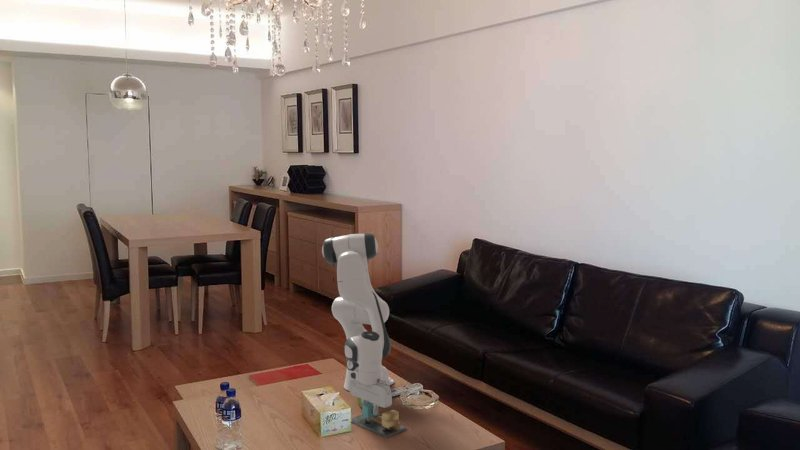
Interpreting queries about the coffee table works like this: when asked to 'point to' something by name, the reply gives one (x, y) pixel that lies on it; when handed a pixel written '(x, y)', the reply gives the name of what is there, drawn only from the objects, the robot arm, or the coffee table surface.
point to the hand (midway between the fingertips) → (370, 412)
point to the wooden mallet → (388, 420)
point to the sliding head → (368, 411)
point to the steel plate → (376, 426)
